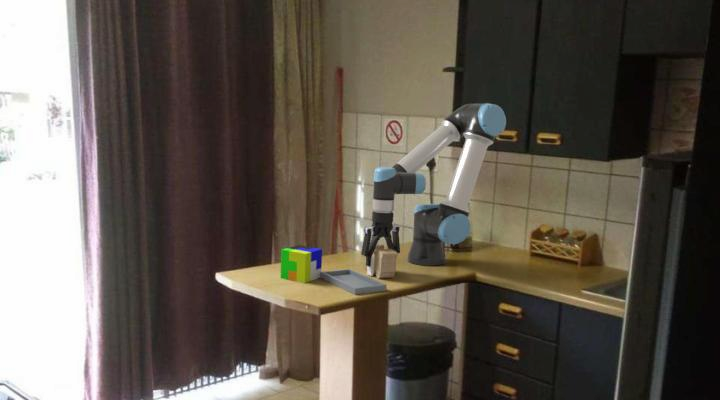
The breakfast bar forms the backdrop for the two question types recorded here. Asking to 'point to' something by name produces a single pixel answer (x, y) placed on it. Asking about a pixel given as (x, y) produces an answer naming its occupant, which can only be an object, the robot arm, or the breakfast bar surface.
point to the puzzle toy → (301, 263)
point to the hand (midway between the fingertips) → (379, 273)
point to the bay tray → (353, 281)
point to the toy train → (384, 262)
